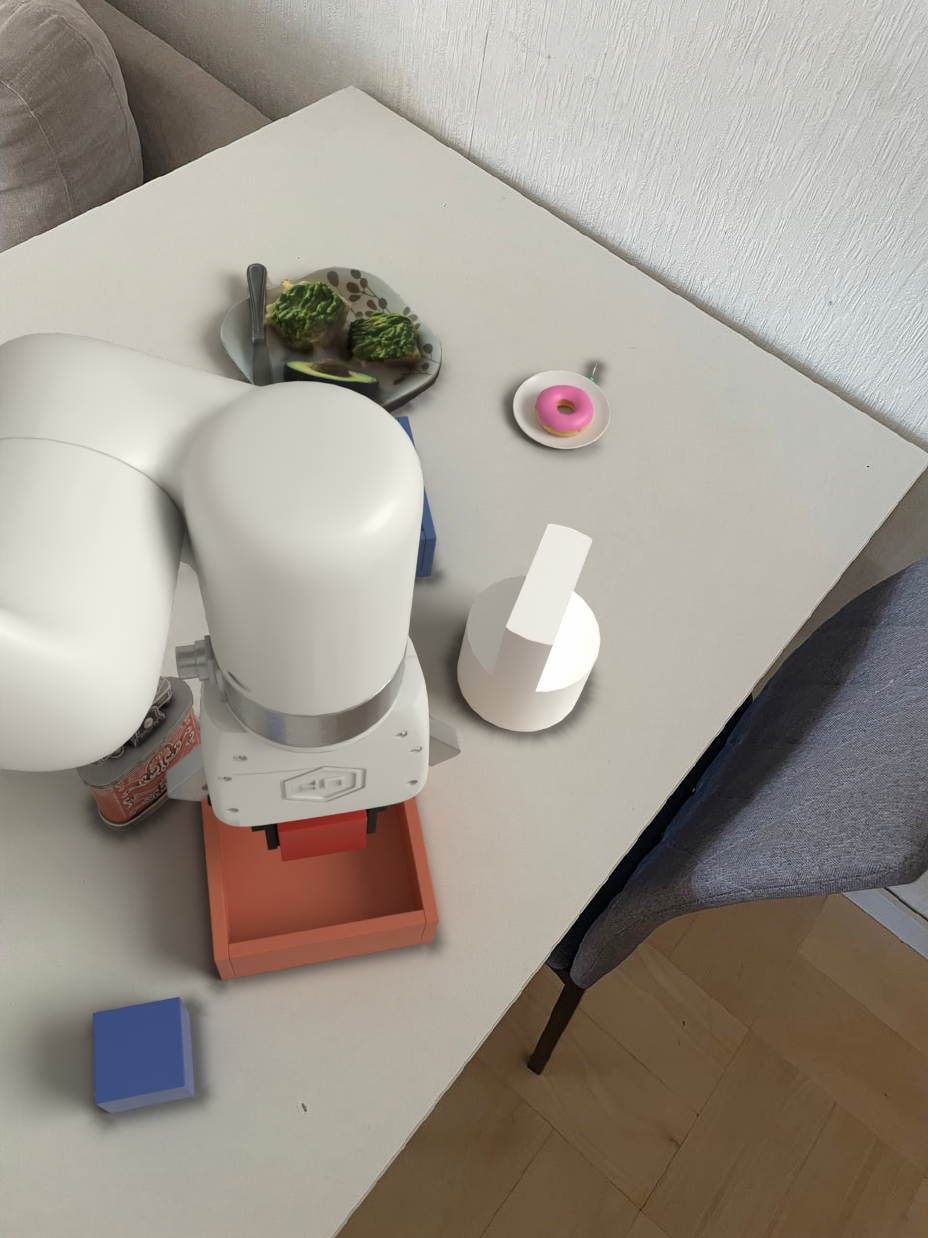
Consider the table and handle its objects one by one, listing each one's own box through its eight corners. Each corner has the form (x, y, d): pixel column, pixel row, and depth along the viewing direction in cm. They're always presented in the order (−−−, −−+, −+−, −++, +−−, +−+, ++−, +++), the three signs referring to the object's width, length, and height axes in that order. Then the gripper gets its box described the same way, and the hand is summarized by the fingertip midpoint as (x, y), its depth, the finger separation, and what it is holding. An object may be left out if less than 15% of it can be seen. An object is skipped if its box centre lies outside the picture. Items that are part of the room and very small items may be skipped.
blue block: (110, 1114, 56) (94, 1104, 52) (107, 1028, 58) (92, 1012, 54) (195, 1097, 56) (185, 1086, 53) (189, 1012, 59) (179, 996, 55)
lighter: (178, 719, 68) (157, 644, 60) (217, 748, 67) (201, 676, 59) (87, 810, 64) (51, 743, 56) (127, 842, 63) (96, 779, 55)
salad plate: (169, 310, 88) (161, 266, 84) (347, 247, 94) (348, 204, 90) (282, 462, 80) (279, 422, 76) (466, 382, 87) (473, 342, 83)
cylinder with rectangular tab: (560, 750, 70) (599, 666, 60) (438, 703, 71) (457, 612, 61) (596, 646, 75) (638, 552, 65) (481, 604, 76) (505, 504, 65)
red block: (282, 862, 55) (278, 833, 51) (273, 784, 57) (268, 752, 53) (365, 848, 56) (367, 819, 52) (352, 772, 58) (354, 739, 54)
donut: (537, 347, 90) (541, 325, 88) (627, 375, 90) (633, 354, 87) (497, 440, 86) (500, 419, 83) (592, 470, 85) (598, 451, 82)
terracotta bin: (221, 980, 60) (214, 961, 56) (206, 796, 66) (198, 766, 61) (432, 942, 62) (439, 920, 58) (399, 767, 68) (404, 737, 64)
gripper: (93, 770, 37) (164, 910, 53) (536, 707, 41) (481, 855, 56) (89, 599, 41) (156, 776, 57) (495, 553, 44) (454, 733, 60)
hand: (318, 814), depth 56 cm, fingers closed on red block, 4 cm apart
